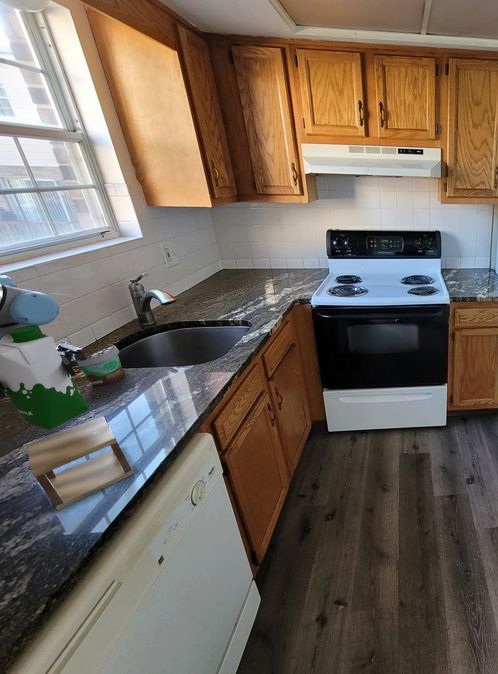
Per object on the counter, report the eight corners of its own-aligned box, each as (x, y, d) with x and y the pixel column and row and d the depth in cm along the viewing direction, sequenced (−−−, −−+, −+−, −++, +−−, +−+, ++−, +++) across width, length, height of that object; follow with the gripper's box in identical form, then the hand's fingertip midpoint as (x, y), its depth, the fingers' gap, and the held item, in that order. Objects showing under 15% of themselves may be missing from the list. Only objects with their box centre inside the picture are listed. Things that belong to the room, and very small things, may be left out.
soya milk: (97, 408, 81) (52, 326, 73) (46, 434, 74) (-10, 346, 65) (71, 402, 84) (26, 322, 75) (19, 426, 76) (-38, 340, 68)
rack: (49, 480, 81) (25, 445, 76) (120, 449, 89) (102, 415, 85) (57, 510, 73) (31, 473, 69) (134, 473, 82) (115, 437, 78)
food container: (108, 388, 116) (94, 360, 111) (88, 388, 116) (74, 361, 111) (138, 368, 127) (126, 342, 122) (120, 369, 127) (108, 343, 122)
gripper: (93, 347, 94) (115, 373, 81) (-40, 384, 78) (-40, 424, 65) (80, 320, 91) (100, 343, 78) (-61, 353, 75) (-66, 388, 62)
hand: (36, 380), depth 72 cm, fingers closed on soya milk, 9 cm apart
